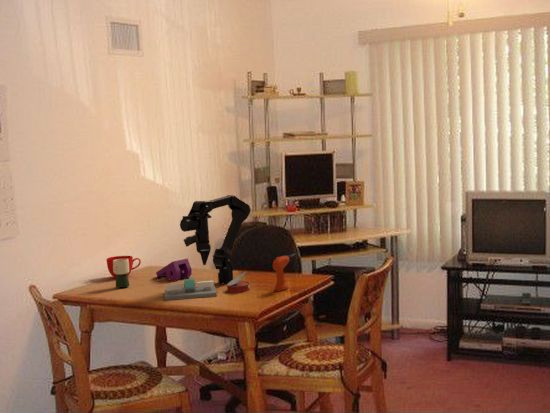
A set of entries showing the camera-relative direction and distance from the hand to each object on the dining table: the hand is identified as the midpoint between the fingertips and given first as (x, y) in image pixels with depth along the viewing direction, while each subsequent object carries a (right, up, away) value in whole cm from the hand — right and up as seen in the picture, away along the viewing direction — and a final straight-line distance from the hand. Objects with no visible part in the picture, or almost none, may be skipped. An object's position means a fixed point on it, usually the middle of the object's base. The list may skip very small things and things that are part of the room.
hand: (204, 263), depth 325 cm
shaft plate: (-5, -12, -13) cm, 18 cm away
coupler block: (-5, -11, -13) cm, 18 cm away
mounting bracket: (-19, -10, +29) cm, 36 cm away
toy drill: (+37, -10, -8) cm, 39 cm away
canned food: (+16, -11, -9) cm, 22 cm away
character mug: (-39, -12, +11) cm, 42 cm away
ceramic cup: (-44, -10, +39) cm, 59 cm away
